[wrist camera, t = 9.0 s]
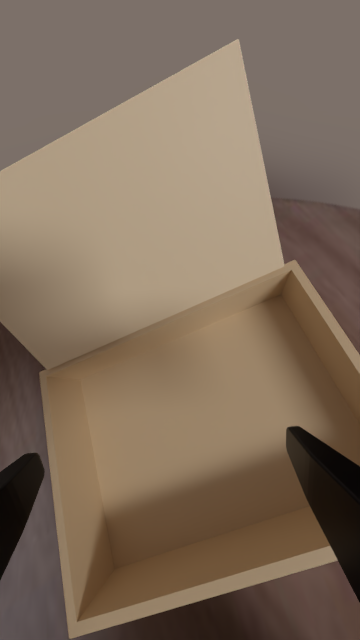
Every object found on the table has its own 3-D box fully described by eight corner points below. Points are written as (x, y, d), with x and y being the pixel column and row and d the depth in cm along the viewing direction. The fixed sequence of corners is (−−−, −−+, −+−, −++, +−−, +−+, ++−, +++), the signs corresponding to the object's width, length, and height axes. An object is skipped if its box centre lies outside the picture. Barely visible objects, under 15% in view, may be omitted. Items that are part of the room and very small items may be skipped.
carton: (401, 483, 15) (471, 520, 11) (113, 575, 18) (69, 639, 13) (282, 288, 21) (294, 258, 17) (77, 375, 24) (38, 371, 19)
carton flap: (238, 38, 11) (236, 43, 11) (-95, 223, 13) (-89, 223, 13) (284, 266, 17) (281, 264, 17) (47, 370, 19) (49, 366, 19)
